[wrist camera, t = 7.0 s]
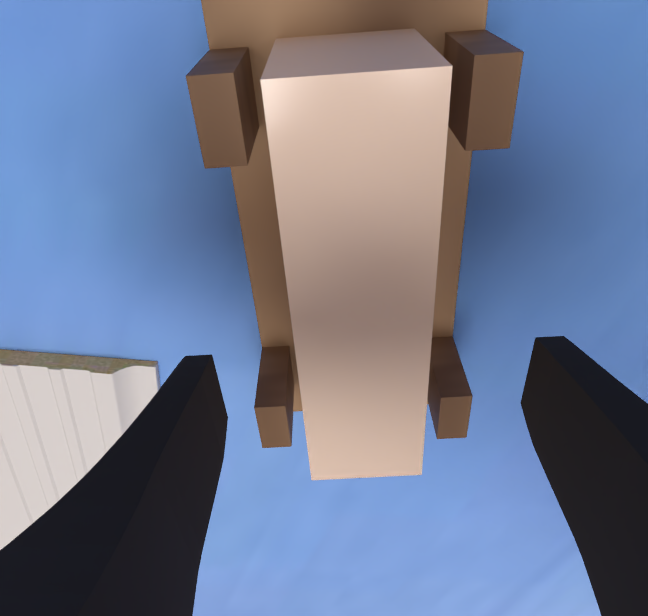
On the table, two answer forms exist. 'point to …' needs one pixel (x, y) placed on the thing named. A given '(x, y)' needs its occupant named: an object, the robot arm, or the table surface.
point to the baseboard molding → (60, 424)
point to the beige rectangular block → (360, 236)
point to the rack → (257, 180)
